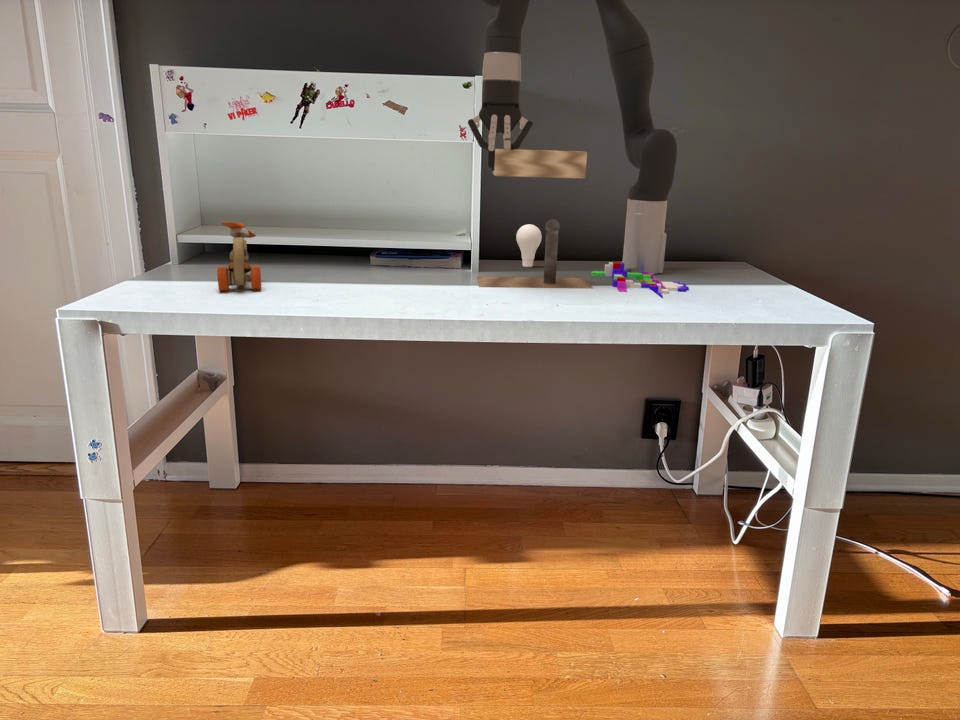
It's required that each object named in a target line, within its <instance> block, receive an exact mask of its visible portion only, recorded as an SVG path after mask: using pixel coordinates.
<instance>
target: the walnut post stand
mask: <svg viewBox="0 0 960 720" xmlns="http://www.w3.org/2000/svg"><path fill="white" fill-rule="evenodd" d="M560 229H561V226H560V222H559V221H558V220H557V219H549V220H547V222H546V223H545V248H544V249H545V250H544V267H543V268H544V269H543V277H542V276H541V277H534V276H533V277H531V276H529V277H525V276H522V277H521V276H516V277H515V276H476V280H477V283H478V287H479V288H513V289H515V288H516V289H517V288H519V289H520V288H521V289H522V288H523V289H528V288H529V289H592V290H593V289H595V288H594V287H593V286H592V285H591V284H590V283H589V282H588V281H587V280H586V279H585V278H584V277H557V267H558V266H557V265H558V263H557V262H558V245H559V230H560Z"/></svg>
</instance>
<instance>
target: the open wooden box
mask: <svg viewBox="0 0 960 720" xmlns="http://www.w3.org/2000/svg"><path fill="white" fill-rule="evenodd" d="M494 152H495V166H494V171H492V175H493V176H495V177H518V178H519V177H522V178H523V177H524V178H525V177H526V178H555V179H557V178H559V179H586V175H587V173H586V172H587V160H588V152H587V151H581V150H549V149H548V150H547V149H544V150H543V149H521V148H520V149H519V148H517V149H514V150H504V148H494Z"/></svg>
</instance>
